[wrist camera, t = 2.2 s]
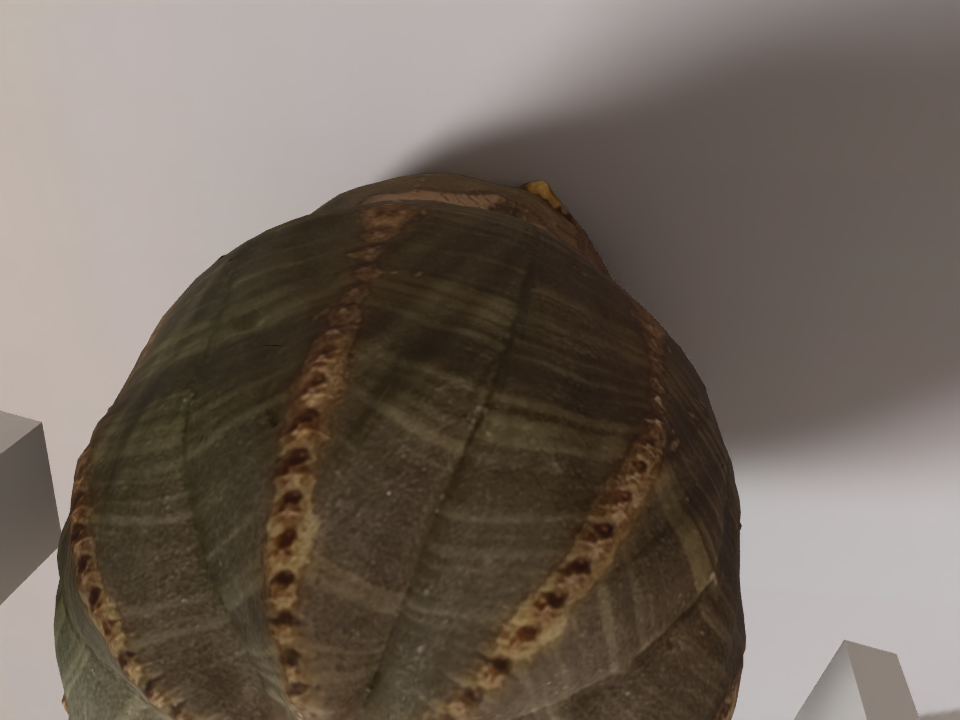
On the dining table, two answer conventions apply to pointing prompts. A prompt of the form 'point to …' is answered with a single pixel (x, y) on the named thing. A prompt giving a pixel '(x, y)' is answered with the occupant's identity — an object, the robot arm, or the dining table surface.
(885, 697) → the robot arm
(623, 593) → the ribbed globe cactus
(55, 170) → the dining table surface
